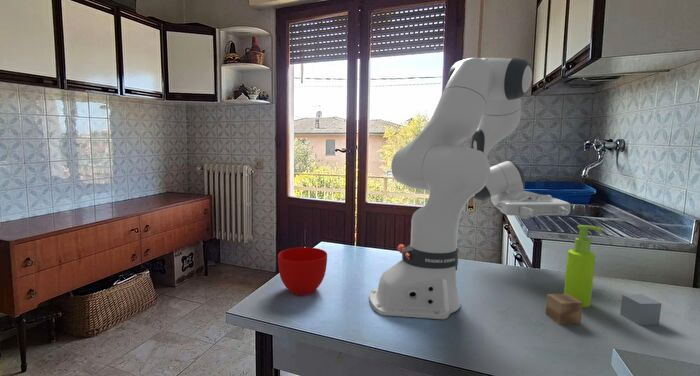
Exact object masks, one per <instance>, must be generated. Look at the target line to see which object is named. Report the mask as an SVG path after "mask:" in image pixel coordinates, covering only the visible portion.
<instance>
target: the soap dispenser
mask: <svg viewBox="0 0 700 376" xmlns="http://www.w3.org/2000/svg"><path fill="white" fill-rule="evenodd" d="M576 229H578V230H579V231H578V232H579V233H578V236H575V237H574V242H573V243H574V244H573V249H568V250H567V254H566V255H567V258H566V265H565V266H566V267H565V276H564V277H565V278H564V289H563V294H569V295H570V296H572V297H574V298H575V299H577V300H579V301H580V302H582V303H583V304H582V308H589V307H591V304H592V303H591V302H592V301H591V300H592V294H593V293H592V292H593V284H594V283H593V282H594V274H595V273H594V272H595V264H596V263H595V262H596V254H595V253H594V252H592V251H591V241H592V239H590V237H588V232H589V231H588V230H590V231H591V230H593V231H597V232H601V233H602V232H604V228H602V227H598V226H595V225H587V224H577V228H576Z"/></svg>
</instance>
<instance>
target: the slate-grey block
mask: <svg viewBox="0 0 700 376" xmlns="http://www.w3.org/2000/svg"><path fill="white" fill-rule="evenodd" d="M662 305H663V304H662V303H661V302H659V301H658V300H655V299H653V298H651V297H649V296H646V295H644V294H640V293H639V294H637V293H635V294H622V295H621V304H620V313H619V314H620V316H622V317H624V318H626V319H627V320H629V321H631V322H632V323H635V324H636V325H638V326H643V325H644V326H645V325H650V326H651V325H660V318H661V311H662Z"/></svg>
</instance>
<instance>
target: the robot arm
mask: <svg viewBox="0 0 700 376" xmlns="http://www.w3.org/2000/svg"><path fill="white" fill-rule="evenodd" d="M532 82H533V71H532V65H531V64H530V63H529V61H528V60H527V59H524V58H519V57H513V58H507V57H505V58H504V57H490V56H489V57H488V56H487V57H468V58H465V59H462V60H458V61H456V62H455V63H454V64H453V65H451V67H450V69H449V71H448V74H447V83H446V85H445V87H444V89H443V92H442V94H441V96H440V97H439V101H438V104H437V106H436V108H435V110H434V112H433V115H432V116H431V118H430V119H429V121H428V122H427V124H426V126H425V127H423V129H422V130H421V131H420V133H418V135H417V136H416V137H415V138H414V139H413V140H412V141H410V142H409V143H408V144H407V145H405V146H404V147H402V148H400V149H398V150H397V151H396V152H395V154H394V155H393V156H392V157H393V158H392V160H391V168H390V169H391V173H392V176H393V178H394V180H395V181H396V182H398V184H399V183H400V184H402V185H403V186H406V187H409V188H411V189H417V190H425V191H429V196H428V200H427V202H426V204H425V205H423V206H421V207H420V208H418V209H416V210H415V211H414V212H413V214H412V217H411V225H410V244H409V245H407V246H405V244H402V243H400V244H398V246H397V251H398V252H399V253H400V254H401V255H402V256H401V260H399V261H398V262H396V263H395V264H394V265H392V266H391V267H390V268H388V269H386V270H385V271H384V272H382V274H381V275H380V279H379V281H378V286H377V287H376V288H375V287H374V288H373V289H371V290H370V292H369V296H368V299H369V300H368V301H369V304H370V306H371V308H372V309H373V310H374V311H375V312H376V313H377V314H379V315H381V316H390V317H405V318H418V319H431V320H433V319H435V320H447V319H448V318H449V316H450V315H451V314H452V313H453V314H454V313H455V312H457V311H458V310H459V309H460V307H461V302H460V297H459V293H458V291H459V290H458V285H457V283H458V282H457V271H458V265H459V249H458V247H457V243H458V234H459V233H458V231H459V223H460V219H461V215H462V212H463V210H464V208H465V206H466V205H467V203H468V202H469V200H470V199H471V198H473V199H475V200H477V201H481V202H482V201H485V200H487V199H488V200H489V198H490V201H491V203H492V204H493V206H495V208H497V209H498V210H499V212H501V213H502V214H504V215H506V216H514V217H517V218H520V219H522V220H523V219H524V220H525V219H527V220H528V219H530V218H534V217H540V216H568V215H570V213H571V203H570V202H568V201H565V200H562V199H559V198H556V197H553V196H552V195H550V194H543V193H535V192H532V191H526V190H525V188H526V179H525V174H524V172H523V171H524V170H523V169H522V168H521V167H520V166H519V165H518V164H516V162H513V161H512V160H506V161H503V162H499V163H497V164H494V165H493V166H491V165H490V162H489V159H488V156H489V155H488V154H489V152H490V151H491V150H492V149H493V147H494V146H496V145H497V144H499V142H500V141H502V140H504V139H505V138H507V137H509V136H510V135H511V134H512V133H513V132H514V131H515V130H516V129H518V126H519V124H520V122H521V117H522V98H523V97H524V96H525V95H526V94H527V93H529V90H530V87H531V85H532ZM469 139H471V144H470V147H468V146H462V145H460V144H462V143H464V142H467V140H469Z"/></svg>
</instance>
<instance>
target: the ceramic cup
mask: <svg viewBox="0 0 700 376" xmlns="http://www.w3.org/2000/svg"><path fill="white" fill-rule="evenodd" d="M327 263H328V253H327V251H325V250H324V249H321V248H317V247H310V246H309V247H307V246H300V247H291V248H287V249H286V248H285V249H284V250H281V251H280V252H279V253H278V254H277V265H278V271H279V276H280V279H281V281H282V284H283V285H284V286H285V287H286V289H287V290H288V291H289V292H290V293H291V294H293V295H296V296H308V295H311V294H314V293H315V292H316V290H317V289H318V288H319V287H320V285H322V282H323V280H324V278H325V275H326V271H327Z"/></svg>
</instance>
